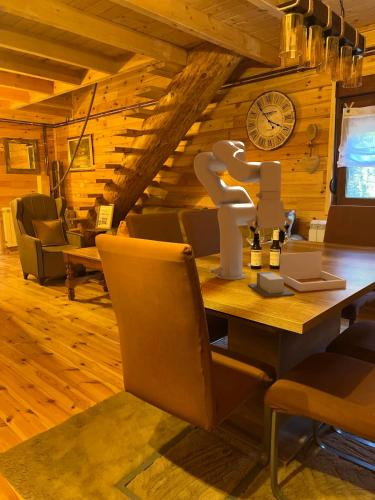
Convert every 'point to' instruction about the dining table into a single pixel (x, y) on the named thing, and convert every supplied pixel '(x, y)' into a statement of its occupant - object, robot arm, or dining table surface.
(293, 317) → the dining table surface
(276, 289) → the box
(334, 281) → the carton
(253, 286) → the slate mat
